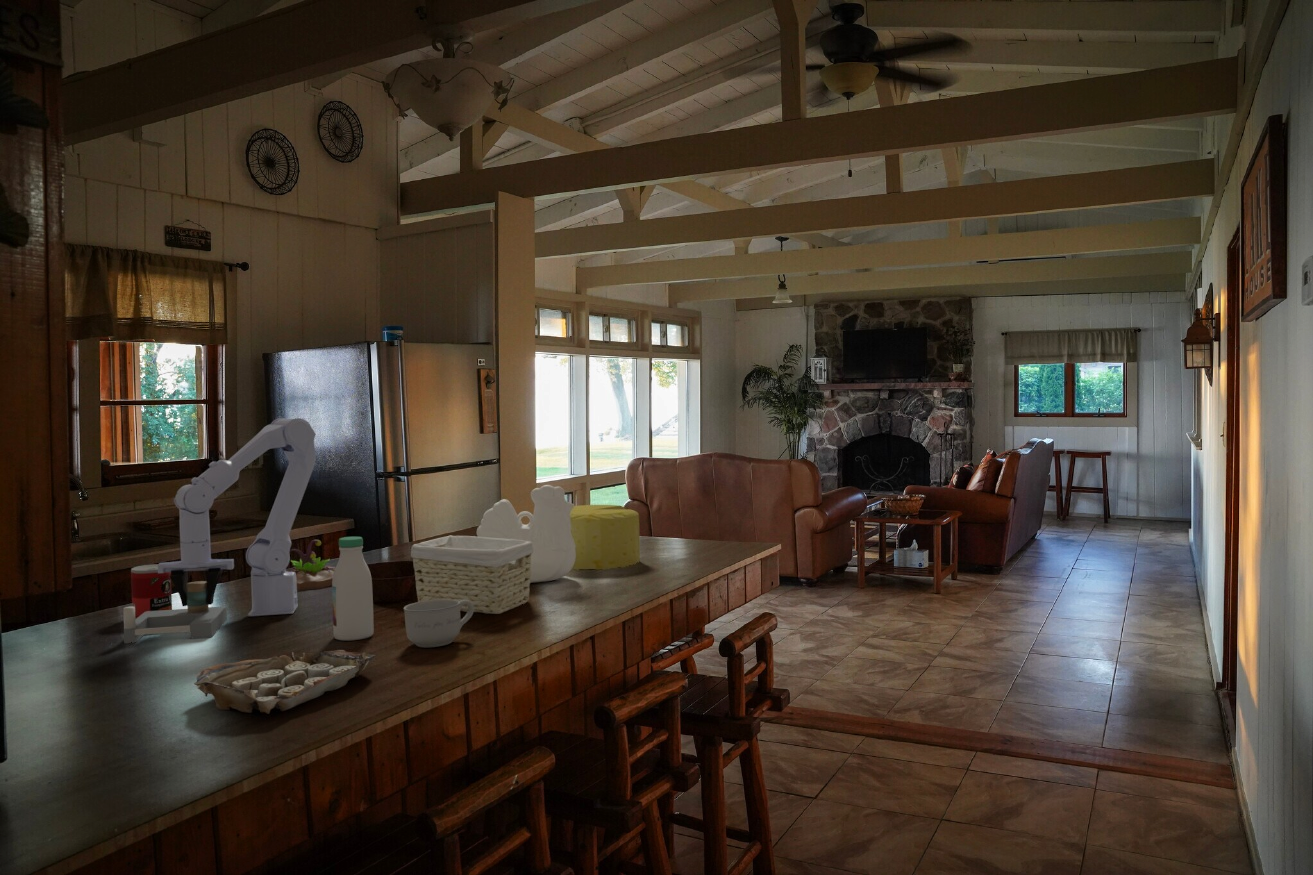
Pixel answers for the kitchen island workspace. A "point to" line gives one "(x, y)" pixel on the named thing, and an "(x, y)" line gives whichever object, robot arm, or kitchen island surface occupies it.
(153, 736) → the kitchen island surface
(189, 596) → the bobbin
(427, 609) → the teacup
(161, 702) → the kitchen island surface
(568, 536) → the decorative rooster
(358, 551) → the milk bottle
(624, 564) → the cheese
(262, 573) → the robot arm
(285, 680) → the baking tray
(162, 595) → the canned food
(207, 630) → the grey u-shaped frame
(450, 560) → the storage basket
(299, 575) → the plant
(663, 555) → the kitchen island surface
